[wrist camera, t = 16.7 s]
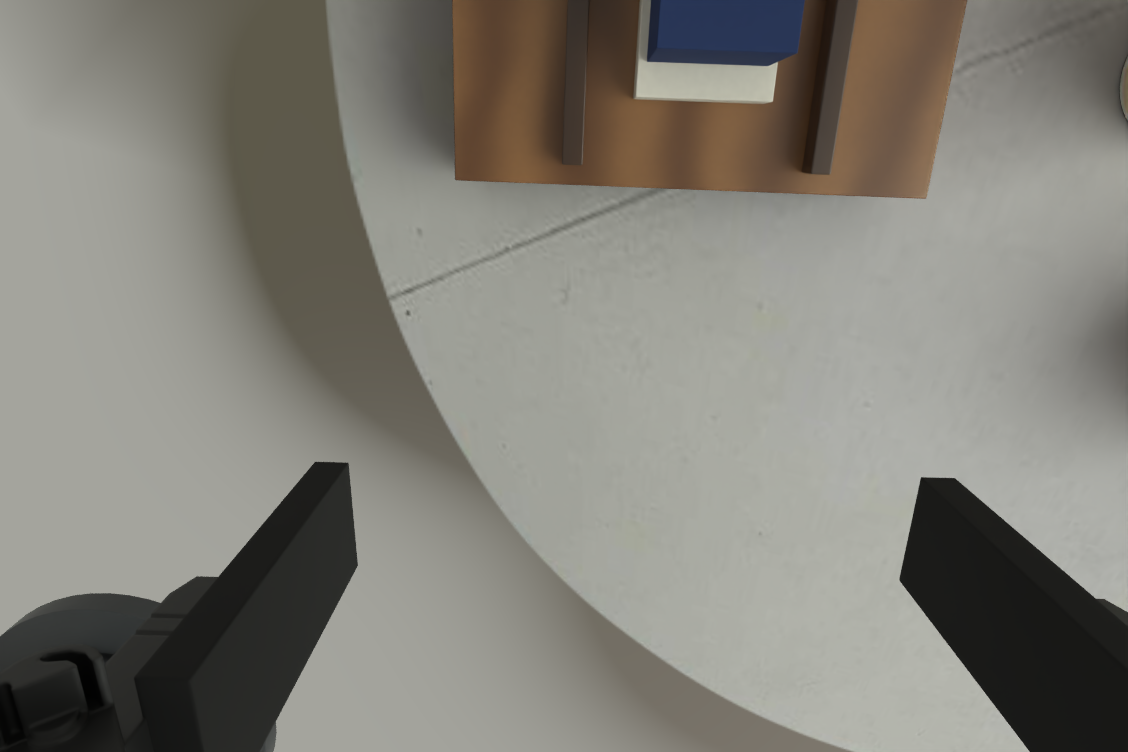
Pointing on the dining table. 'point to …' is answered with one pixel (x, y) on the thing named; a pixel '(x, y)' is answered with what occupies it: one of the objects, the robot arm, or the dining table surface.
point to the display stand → (702, 129)
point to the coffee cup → (1124, 89)
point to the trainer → (714, 48)
